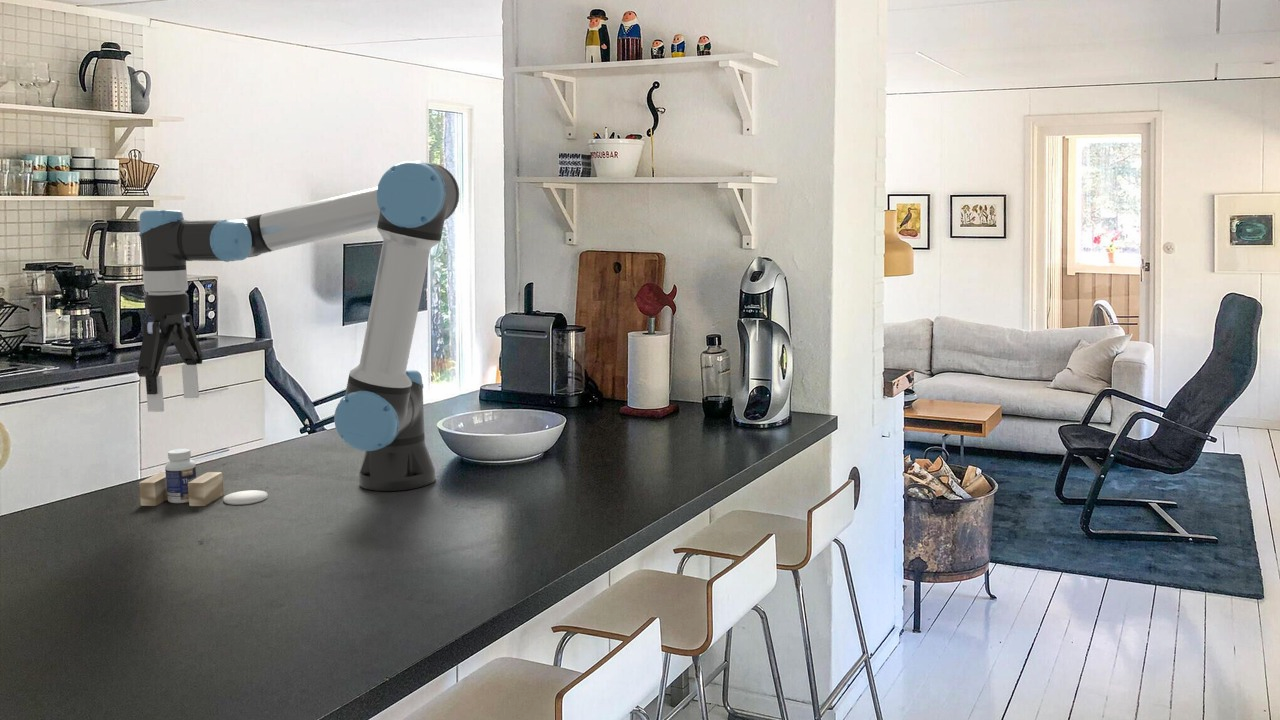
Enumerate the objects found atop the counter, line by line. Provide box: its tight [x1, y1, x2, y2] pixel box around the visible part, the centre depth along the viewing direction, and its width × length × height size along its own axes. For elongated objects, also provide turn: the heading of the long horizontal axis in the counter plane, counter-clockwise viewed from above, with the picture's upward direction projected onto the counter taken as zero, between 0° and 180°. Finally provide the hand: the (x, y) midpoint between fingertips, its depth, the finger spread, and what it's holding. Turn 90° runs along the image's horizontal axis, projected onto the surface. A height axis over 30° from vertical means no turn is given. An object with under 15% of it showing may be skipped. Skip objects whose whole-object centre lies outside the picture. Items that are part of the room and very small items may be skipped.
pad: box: [223, 489, 269, 506], centre depth 207 cm, size 8×8×1 cm
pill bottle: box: [164, 448, 197, 504], centre depth 207 cm, size 5×5×10 cm
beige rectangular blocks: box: [138, 471, 225, 507], centre depth 207 cm, size 12×8×4 cm, turn 86°
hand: (174, 404), depth 204 cm, fingers open, 13 cm apart
